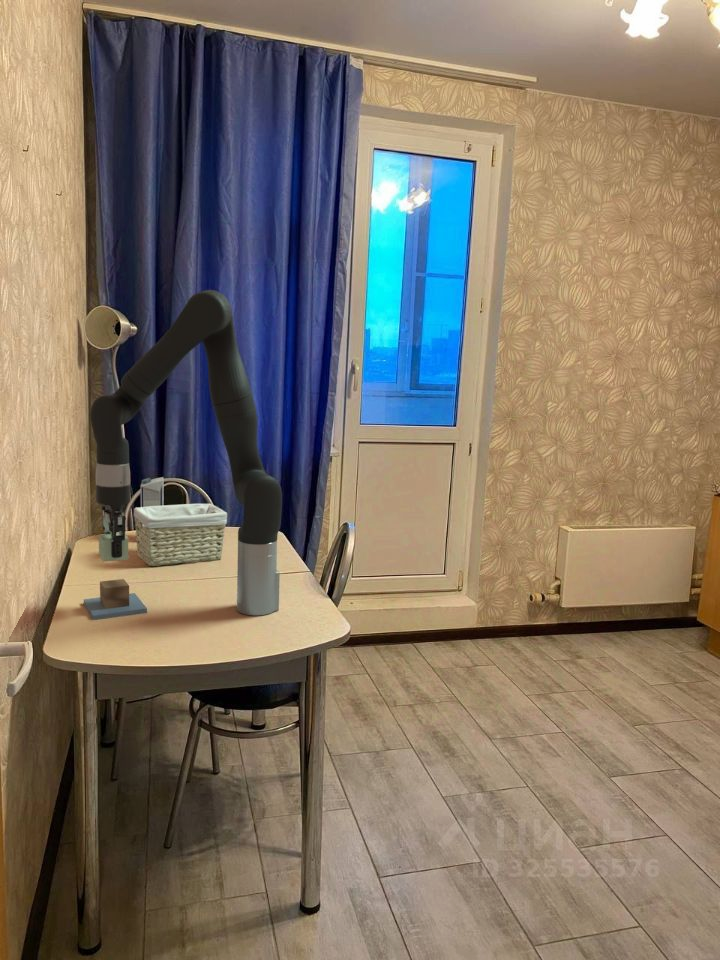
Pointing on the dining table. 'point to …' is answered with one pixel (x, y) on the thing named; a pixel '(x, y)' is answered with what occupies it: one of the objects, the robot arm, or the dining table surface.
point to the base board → (100, 612)
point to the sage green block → (106, 548)
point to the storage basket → (179, 533)
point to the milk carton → (152, 492)
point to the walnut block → (114, 593)
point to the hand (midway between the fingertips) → (113, 553)
